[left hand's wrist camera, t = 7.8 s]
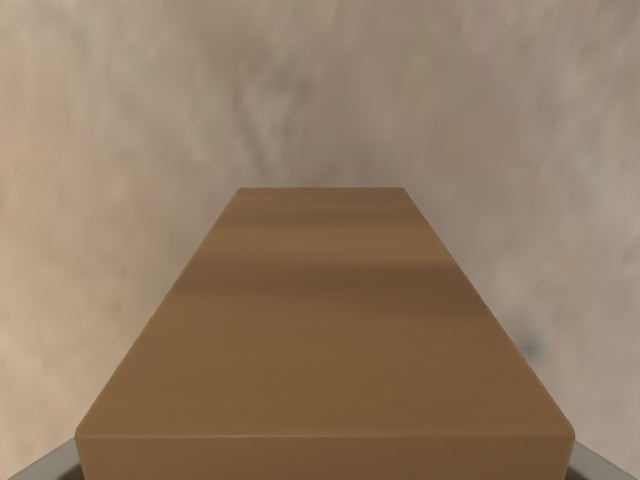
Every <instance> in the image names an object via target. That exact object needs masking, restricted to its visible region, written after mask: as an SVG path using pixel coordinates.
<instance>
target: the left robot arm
mask: <svg viewBox="0 0 640 480" xmlns="http://www.w3.org/2000/svg"><path fill="white" fill-rule="evenodd" d="M74 438H75V437H74ZM74 438H72V439H70V440H69V441H67V442H66V443H64V444H62V445H61V446H59V447H58V448H56V449H55V450H53V451H51V452H50V453H48V454H47V455H45V456H43V457H42V458H40V459H39V460H37V461H36V462H34V463H32V464H31V465H29V466H28V467H26V468H24V469H23V470H21V471H20V472H18V473H17V474H15V475H13V476H12V477H10V478H9V479H8V480H85V478H84V474H83V471H82V467H81V463H80V459H79V455H78V451H77V447H76V443H75V439H74ZM564 480H638V479H637V478H635V477H633V476H632V475H630V474H629V473H627V472H625V471H624V470H622V469H621V468H619V467H617V466H616V465H614V464H613V463H611V462H609V461H608V460H606V459H605V458H603V457H601V456H600V455H598V454H597V453H595V452H594V451H592V450H590V449H589V448H587V447H586V446H584V445H582V444H581V443H579V442H578V441H576V440H575V441H574V445H573V449H572V453H571V456H570V460H569V464H568V468H567V472H566V476H565V479H564Z"/></svg>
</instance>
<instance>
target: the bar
mask: <svg viewBox="0 0 640 480" xmlns="http://www.w3.org/2000/svg"><path fill="white" fill-rule="evenodd" d="M74 439H75V443H76V447H77V451H78V455H79V459H80V463H81V467H82V471H83V474H84V478H85V480H564V479H565V476H566V472H567V468H568V464H569V460H570V456H571V453H572V449H573V445H574V441H575V433H574V429H573V427H572V425H571V424H570V423H569V421H568V420H567V418H566V417H565V416H564V414H563V413H562V411H561V410H560V409H559V407H558V406H557V404H556V403H555V401H554V400H553V399H552V397H551V396H550V394H549V393H548V392H547V390H546V389H545V387H544V386H543V384H542V383H541V382H540V380H539V379H538V377H537V376H536V375H535V373H534V372H533V370H532V369H531V368H530V366H529V365H528V363H527V362H526V360H525V359H524V358H523V356H522V355H521V353H520V352H519V351H518V349H517V348H516V346H515V345H514V344H513V342H512V341H511V339H510V338H509V336H508V335H507V334H506V332H505V331H504V329H503V328H502V327H501V325H500V324H499V322H498V321H497V320H496V318H495V317H494V315H493V314H492V312H491V311H490V310H489V308H488V307H487V305H486V304H485V303H484V301H483V300H482V298H481V297H480V296H479V294H478V293H477V291H476V290H475V288H474V287H473V286H472V284H471V283H470V281H469V280H468V279H467V277H466V276H465V274H464V273H463V272H462V270H461V269H460V267H459V266H458V264H457V263H456V262H455V260H454V259H453V257H452V256H451V255H450V253H449V252H448V250H447V249H446V248H445V246H444V245H443V243H442V242H441V240H440V239H439V238H438V236H437V235H436V233H435V232H434V231H433V229H432V228H431V226H430V225H429V224H428V222H427V221H426V219H425V218H424V216H423V215H422V214H421V212H420V211H419V209H418V208H417V207H416V205H415V204H414V202H413V201H412V200H411V198H410V197H409V195H408V194H407V192H406V191H405V190H404V189H403V188H239V189H238V190H237V192H236V193H235V195H234V196H233V198H232V199H231V201H230V202H229V204H228V205H227V207H226V208H225V210H224V211H223V213H222V214H221V216H220V217H219V218H218V220H217V221H216V223H215V224H214V226H213V227H212V229H211V230H210V232H209V233H208V235H207V236H206V238H205V239H204V241H203V242H202V244H201V245H200V247H199V248H198V250H197V251H196V253H195V254H194V255H193V257H192V258H191V260H190V261H189V263H188V264H187V266H186V267H185V269H184V270H183V272H182V273H181V275H180V276H179V278H178V279H177V281H176V282H175V284H174V285H173V287H172V288H171V289H170V291H169V292H168V294H167V295H166V297H165V298H164V300H163V301H162V303H161V304H160V306H159V307H158V309H157V310H156V312H155V313H154V315H153V316H152V318H151V319H150V321H149V322H148V323H147V325H146V326H145V328H144V329H143V331H142V332H141V334H140V335H139V337H138V338H137V340H136V341H135V343H134V344H133V346H132V347H131V349H130V350H129V352H128V353H127V355H126V356H125V357H124V359H123V360H122V362H121V363H120V365H119V366H118V368H117V369H116V371H115V372H114V374H113V375H112V377H111V378H110V380H109V381H108V383H107V384H106V386H105V387H104V389H103V390H102V391H101V393H100V394H99V396H98V397H97V399H96V400H95V402H94V403H93V405H92V406H91V408H90V409H89V411H88V412H87V414H86V415H85V417H84V418H83V420H82V421H81V423H80V424H79V425H78V427H77V429H76V432H75V438H74Z"/></svg>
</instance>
